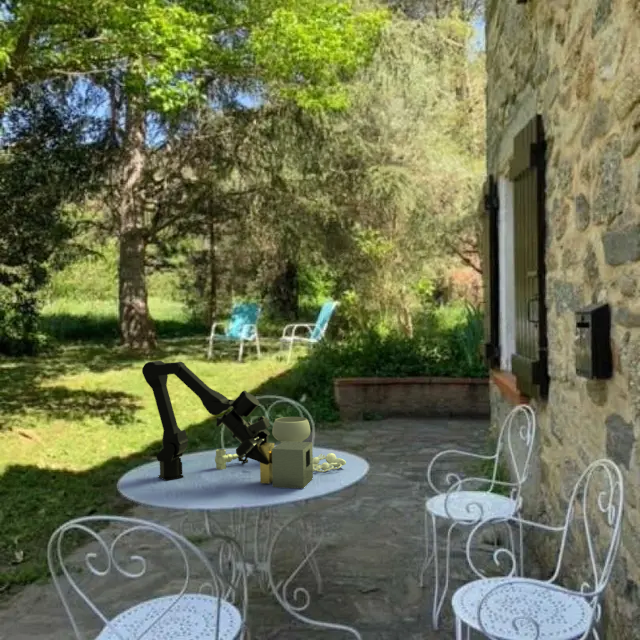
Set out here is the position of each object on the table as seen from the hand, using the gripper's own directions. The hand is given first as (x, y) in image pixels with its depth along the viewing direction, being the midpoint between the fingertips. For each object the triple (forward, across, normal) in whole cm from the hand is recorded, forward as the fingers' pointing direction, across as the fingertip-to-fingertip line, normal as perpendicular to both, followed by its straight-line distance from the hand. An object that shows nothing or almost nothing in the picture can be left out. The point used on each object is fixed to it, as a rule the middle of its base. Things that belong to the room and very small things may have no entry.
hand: (271, 461), depth 217 cm
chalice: (+3, +31, +6) cm, 32 cm away
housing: (+10, 0, 0) cm, 10 cm away
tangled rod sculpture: (+13, +19, -3) cm, 23 cm away
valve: (-10, +18, +20) cm, 29 cm away
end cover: (+6, 0, +3) cm, 7 cm away
